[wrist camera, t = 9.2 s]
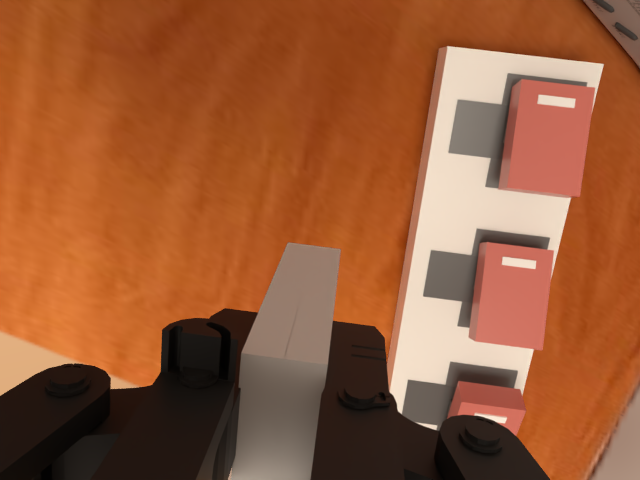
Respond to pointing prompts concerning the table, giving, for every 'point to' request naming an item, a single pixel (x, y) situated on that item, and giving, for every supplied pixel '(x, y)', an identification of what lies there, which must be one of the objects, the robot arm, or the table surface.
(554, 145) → the block
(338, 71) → the table surface
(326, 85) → the table surface
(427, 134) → the rocker switch panel
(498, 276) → the block
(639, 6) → the grey rounded slab
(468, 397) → the rocker
